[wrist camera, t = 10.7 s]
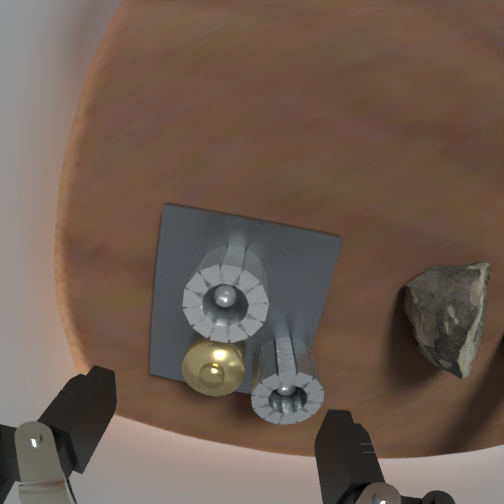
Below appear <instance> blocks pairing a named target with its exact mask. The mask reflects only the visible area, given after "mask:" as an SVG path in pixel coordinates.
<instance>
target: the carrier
mask: <svg viewBox="0 0 504 504" xmlns="http://www.w3.org/2000/svg"><path fill="white" fill-rule="evenodd" d="M341 241H342V237H341V236H339V235H337V234H332V233H327V232H322V231H318V230H313V229H308V228H303V227H298V226H293V225H288V224H283V223H278V222H272V221H267V220H262V219H257V218H251V217H246V216H241V215H235V214H230V213H224V212H219V211H213V210H208V209H202V208H196V207H191V206H185V205H179V204H173V203H166V204H164V205H163V213H162V220H161V228H160V237H159V245H158V254H157V264H156V274H155V285H154V298H153V311H152V327H151V347H150V374H153V375H157V376H161V377H165V378H170V379H174V380H179V381H183V382H187V383H188V385H189V386H191V387H192V388H193V389H194V390H196V391H198V392H200V393H202V394H205V395H209V396H223V395H227V394H230V393H232V392H234V391H235V392H242V393H248V394H251V384H252V361H253V357H254V356H255V354H256V352H257V350H258V349H259V348H260V349H261V346H262V345H264V344H266V343H268V342H269V341H271V340H274V342H275V343H276V341H275V339H278V338H290V341H291V340H292V338H294V339H296V340H299V341H301V342H304V343H305V345H308V347H309V348H310V349H311V348H312V345H313V341H314V338H315V335H316V332H317V328H318V325H319V322H320V318H321V315H322V312H323V308H324V305H325V301H326V298H327V294H328V291H329V287H330V284H331V280H332V276H333V272H334V269H335V265H336V261H337V257H338V253H339V249H340V245H341ZM225 245H226V247H227V249H228V246H229V245H232V246H237V247H243V248H245V250H244V253H245V251H246V250H247V249H248V250H249V251H250V252H251V253H253V254H254V255H255V256H256V257H258V258H259V259H260V262H262V265H263V267H264V270H265V273H266V276H267V288H268V301H269V306H268V310H267V315H266V319H265V322H264V321H263V325H262V326H261V327H260V328H259V329H258V330H257V331H256V332H255V333H254V334H253V335H252V336H250V335H249V336H248V338H247V339H244V340H240V341H237V342H233V343H231V342H230V339H229V340H228V343H223V342H218V341H213V340H210V336H211V335H210V336H209V337H208V338H205V337H204V336H203V335H201V334H200V333H199V332H197V331H196V330H195V329H193V328H192V327H193V325H194V324H193V325H190V324H189V322H188V319H187V317H186V315H185V313H184V311H183V308H184V307H183V306H182V305H183V296H184V289H185V287H186V285H187V283H188V281H189V279H190V278H191V276H192V274H193V273H194V271H195V269H196V268H197V266H198V264H199V263H200V262H201V260H202V259H203V258H204V257H205V256H206V254H207V253H208V252H209V253H210V251H211V250H213V249H216V248H219V247H222V246H225ZM214 288H215V290H216V291H215V294H214V299H215V301H216V303H217V304H218V305H220V306H222V307H229V306H231V305H233V304H234V302H235V300H236V297H237V296H241V295H243V294H244V293H243V292H242V291H241V290H240V289H238V288H237V287H236V286H234V285H228V284H223V283H222V284H219V285H216V286H214ZM295 389H296V386H295V385H285V386H281V387H279V388H277V391H278V392H279V393H280V394H282V395H290V394H292V393H293V392H294V391H295Z"/></svg>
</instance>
